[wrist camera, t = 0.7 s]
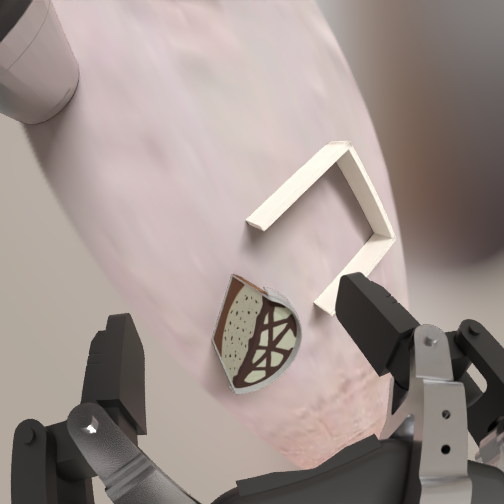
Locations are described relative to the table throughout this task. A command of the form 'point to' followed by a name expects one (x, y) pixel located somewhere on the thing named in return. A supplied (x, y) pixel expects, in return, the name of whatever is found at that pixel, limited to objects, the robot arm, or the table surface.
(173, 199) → the table surface
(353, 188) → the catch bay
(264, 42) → the table surface
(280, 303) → the food container
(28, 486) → the robot arm
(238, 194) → the table surface
